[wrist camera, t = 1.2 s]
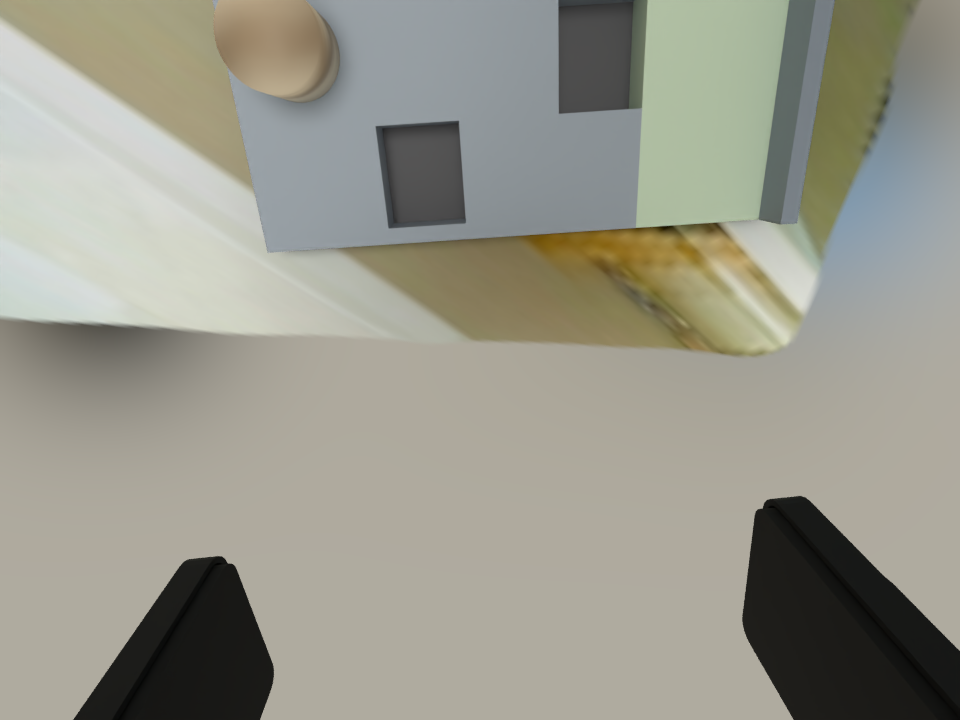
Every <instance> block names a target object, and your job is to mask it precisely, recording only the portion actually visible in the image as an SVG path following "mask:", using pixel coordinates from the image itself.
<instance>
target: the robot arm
mask: <svg viewBox="0 0 960 720" xmlns="http://www.w3.org/2000/svg"><path fill="white" fill-rule="evenodd" d="M742 621H743V627H744V631H745V634H746V637H747V639H748V641H749V643H750V645H751V646H752V648H753V650H754V652H755V653H756V655H757V657H758V659H759V660H760V662H761V664H762V666H763V667H764V669H765V671H766V672H767V674H768V676H769V678H770V679H771V681H772V683H773V685H774V686H775V688H776V690H777V691H778V693H779V695H780V697H781V698H782V700H783V702H784V704H785V705H786V707H787V709H788V710H789V712H790V714H791V716H792V717H793V719H794V720H960V651H959V650H958V649H957V648H956V647H955V646H954V645H953V644H952V643H951V642H950V641H949V640H948V639H947V638H946V637H945V636H944V635H943V634H942V633H941V632H940V631H939V630H938V629H937V628H936V627H935V626H934V625H933V624H932V623H931V622H930V621H929V620H928V619H927V618H926V617H925V616H924V615H923V614H922V613H921V612H920V611H919V610H918V608H917V607H916V606H915V605H914V604H913V603H912V602H911V601H909V599H908V598H907V597H906V596H905V595H904V594H903V593H902V592H901V591H900V590H899V589H898V588H897V587H896V586H895V585H894V584H893V583H892V582H890V581H889V580H888V579H887V578H885V577H884V576H883V575H882V574H881V573H880V572H879V571H878V570H877V569H876V568H875V567H874V566H873V565H872V564H871V563H870V562H869V561H868V560H867V559H866V557H865V556H864V555H863V554H862V553H861V552H860V551H859V550H858V549H857V548H856V547H855V546H854V545H853V544H852V543H851V542H850V541H849V540H848V539H847V538H846V537H845V536H844V535H843V534H842V533H841V532H840V531H839V530H838V529H837V528H836V527H835V526H834V525H833V524H832V523H831V522H830V521H829V520H828V519H827V518H826V517H825V516H824V515H823V514H822V513H821V512H820V511H819V510H818V509H817V508H816V507H815V506H814V505H813V504H812V503H811V502H810V501H809V500H808V499H807V498H805V497H802V496H796V497H787V498H777V499H769V500H767V501H766V502H765V503H764V506H763V509H758V510H757V511H756V513H755V518H754V526H753V535H752V543H751V551H750V560H749V568H748V576H747V584H746V592H745V600H744V609H743V617H742ZM273 677H274V668H273V663H272V661H271V658H270V656H269V653H268V650H267V648H266V645H265V643H264V640H263V637H262V635H261V632H260V630H259V627H258V624H257V622H256V619H255V616H254V614H253V611H252V608H251V606H250V604H249V601H248V598H247V595H246V593H245V590H244V588H243V585H242V582H241V580H240V577H239V574H238V572H237V569H236V567H235V566H234V565H233V564H228V563H227V562H226V560H225V559H224V558H223V557H220V556H216V557H207V558H197V559H189V560H186V561H185V562H183V564H182V565H181V566H180V567H179V569H178V570H177V571H176V573H175V574H174V576H173V577H172V578H171V580H170V581H169V583H168V584H167V586H166V587H165V589H164V590H163V591H162V593H161V594H160V596H159V597H158V599H157V600H156V601H155V603H154V604H153V606H152V607H151V609H150V610H149V612H148V613H147V614H146V616H145V617H144V619H143V621H142V622H141V623H140V625H139V626H138V627H137V629H136V630H135V632H134V633H133V635H132V636H131V637H130V639H129V641H128V642H127V643H126V645H125V646H124V648H123V649H122V650H121V652H120V653H119V655H118V656H117V658H116V659H115V660H114V662H113V663H112V665H111V666H110V668H109V669H108V671H107V672H106V673H105V675H104V677H103V678H102V679H101V681H100V682H99V683H98V685H97V686H96V688H95V689H94V691H93V692H92V694H91V695H90V696H89V698H88V699H87V701H86V702H85V704H84V705H83V707H82V708H81V709H80V711H79V712H78V714H77V715H76V717H75V718H74V720H260V718H261V715H262V713H263V710H264V707H265V704H266V702H267V699H268V696H269V693H270V690H271V688H272V684H273Z"/></svg>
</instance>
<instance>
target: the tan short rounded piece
mask: <svg viewBox="0 0 960 720" xmlns="http://www.w3.org/2000/svg"><path fill="white" fill-rule="evenodd" d="M214 35H215V41H216V44H217V48H218V50H219V53H220V55H221V57H222V59H223V61H224V63H225V64H226V66H227V67H228V69H229V70H230V71H231V72H232V73H233V75H234V76H235V77H237V78H238V79H239V80H240V81H241V82H242V83H244V84H245V85H247V86H248V87H250V88H252V89H254V90H256V91H259V92H262V93H266V94H269V95H272V96H275V97H278V98H282V99H285V100H288V101H291V102H297V103H305V102H311V101H314V100H316V99H319V98H320V97H322V96H323V95H325V94H326V93H327V92H328V91H329V90H330V88H331V87H332V85H333V84H334V82H335V80H336V78H337V75H338V71H339V65H340V53H339V47H338V43H337V40H336V37H335V35H334V32H333V30H332V29H331V27H330V25H329V24H328V23H327V21H326V20H325V19H324V18H323V17H322V16H321V15H320V14H319V13H318V12H317V11H316V10H315V9H314V8H313V7H312V6H311V5H310V4H309V3H308V2H307V1H306V0H218V3H217V6H216V9H215V14H214Z"/></svg>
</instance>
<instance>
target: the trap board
mask: <svg viewBox="0 0 960 720" xmlns="http://www.w3.org/2000/svg"><path fill="white" fill-rule="evenodd" d="M306 1H307V2H308V3H309V4H310V5H311V6H312V7H313V8H314V9H315V10H316V11H317V12H318V13H319V14H320V15H321V16H322V17H323V18H324V19H325V20H326V21H327V23H328V24H329V25H330V27H331V29H332V30H333V32H334V35H335V37H336V40H337V43H338V47H339V53H340V65H339V71H338V75H337V78H336V80H335V82H334V84H333V85H332V87H331V88H330V90H329V91H328V92H327V93H326V94H325V95H323V96H322V97H320V98H319V99H316V100H314V101H311V102H305V103H297V102H291V101H288V100H285V99H282V98H278V97H275V96H272V95H269V94H266V93H262V92H259V91H256V90H254V89H252V88H250V87H248V86H247V85H245V84H244V83H242V82H241V81H240V80H239V79H238V78H237V77H235V76H234V75H233V73H232V72H231V71H230V70H229V69H228V67H227V69H228V73H229V78H230V82H231V87H232V91H233V96H234V101H235V105H236V110H237V114H238V119H239V123H240V128H241V132H242V137H243V142H244V146H245V151H246V155H247V160H248V164H249V169H250V174H251V178H252V183H253V187H254V192H255V196H256V201H257V206H258V210H259V215H260V219H261V224H262V228H263V233H264V237H265V242H266V247H267V251H268V253H270V252H285V251H299V250H314V249H329V248H344V247H359V246H374V245H388V244H403V243H418V242H433V241H448V240H463V239H477V238H492V237H507V236H522V235H537V234H552V233H566V232H581V231H596V230H611V229H626V228H641V227H655V226H670V225H685V224H700V223H715V222H730V221H744V220H763V221H767V222H772V223H777V224H794V223H797V221H798V215H799V209H800V203H801V197H802V191H803V185H804V180H805V174H806V168H807V162H808V156H809V150H810V144H811V138H812V132H813V126H814V120H815V114H816V109H817V103H818V97H819V91H820V85H821V79H822V73H823V67H824V61H825V55H826V49H827V43H828V37H829V32H830V26H831V20H832V14H833V8H834V2H835V0H306ZM217 3H218V0H213V5H214V9H216V6H217Z"/></svg>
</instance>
